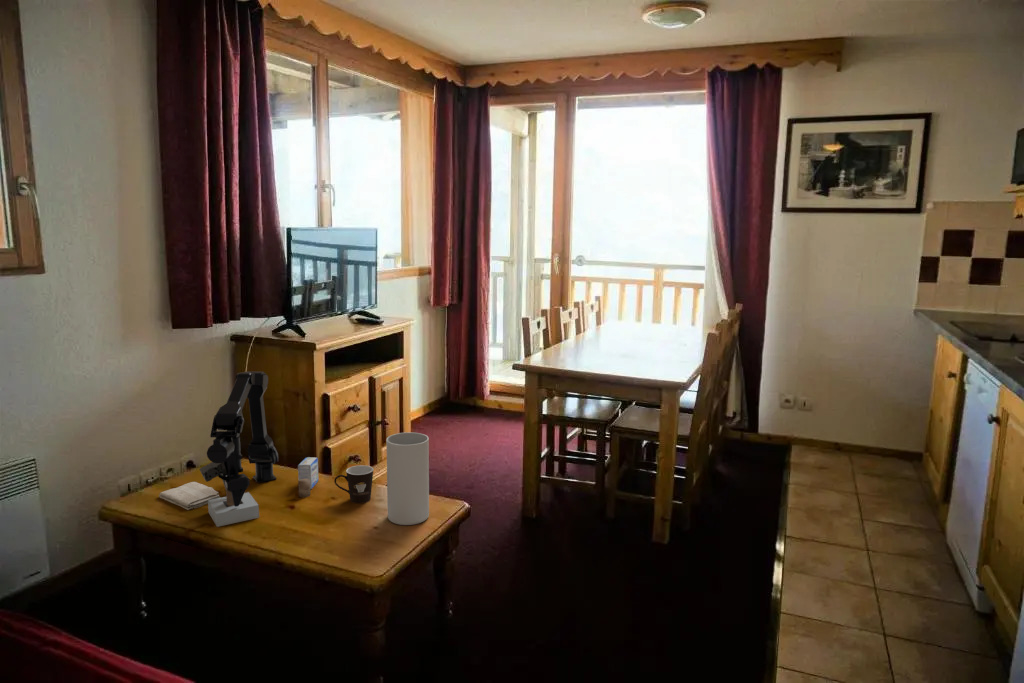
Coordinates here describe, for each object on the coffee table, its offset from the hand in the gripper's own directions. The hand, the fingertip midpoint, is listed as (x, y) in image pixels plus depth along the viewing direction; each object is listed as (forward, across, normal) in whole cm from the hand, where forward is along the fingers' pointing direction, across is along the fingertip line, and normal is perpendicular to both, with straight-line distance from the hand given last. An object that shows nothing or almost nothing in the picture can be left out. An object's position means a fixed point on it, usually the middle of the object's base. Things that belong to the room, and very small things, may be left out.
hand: (233, 501), depth 206 cm
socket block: (+4, 0, 0) cm, 4 cm away
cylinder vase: (+5, +30, +44) cm, 53 cm away
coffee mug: (+5, +8, +36) cm, 37 cm away
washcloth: (+5, -21, -9) cm, 23 cm away
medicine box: (+5, -12, +27) cm, 30 cm away
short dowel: (+5, -4, +23) cm, 24 cm away
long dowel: (+4, 0, 0) cm, 4 cm away
